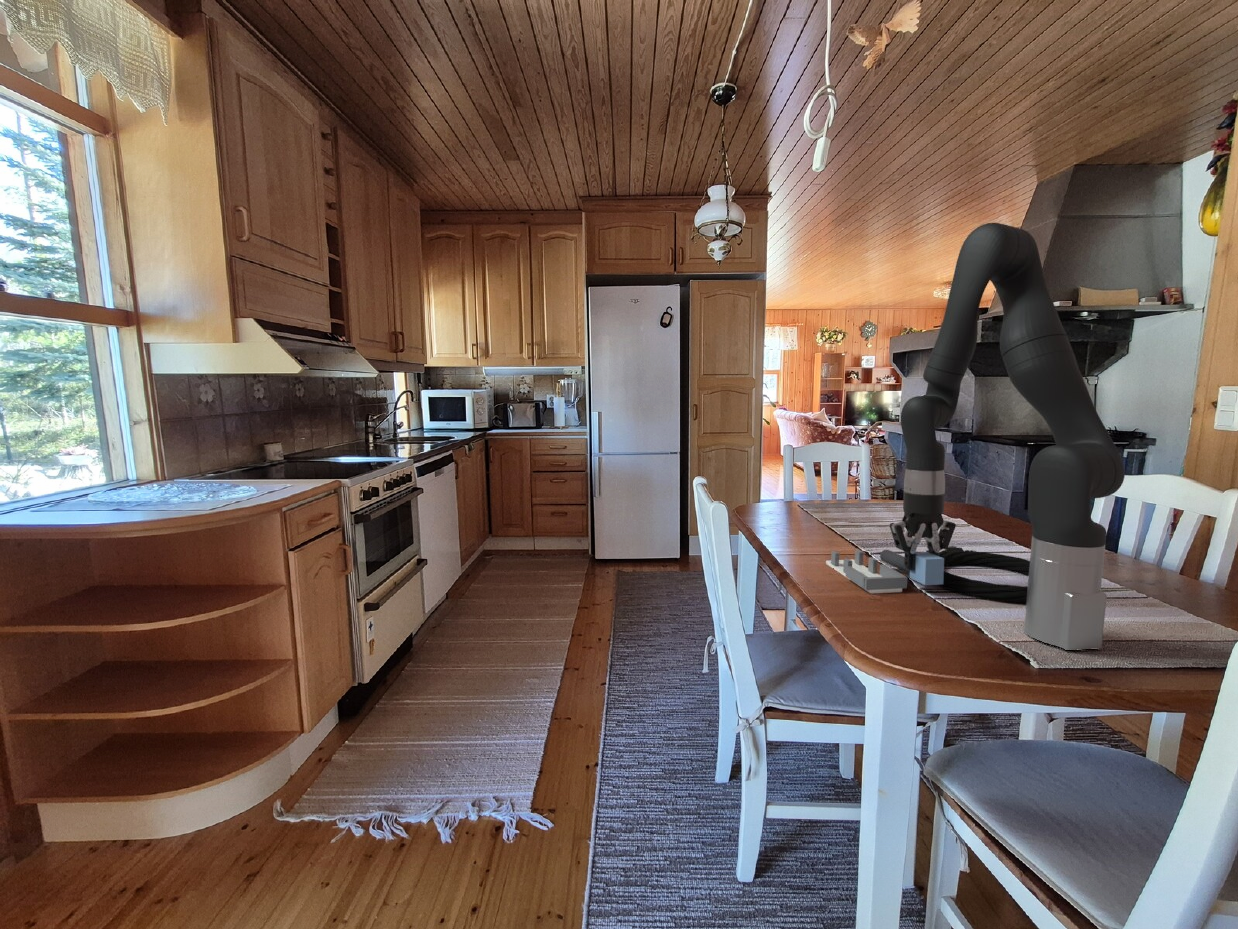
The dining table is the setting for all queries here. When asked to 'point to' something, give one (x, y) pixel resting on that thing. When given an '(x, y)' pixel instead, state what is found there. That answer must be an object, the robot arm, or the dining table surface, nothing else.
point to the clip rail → (868, 574)
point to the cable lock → (979, 587)
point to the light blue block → (919, 566)
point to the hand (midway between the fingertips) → (920, 568)
